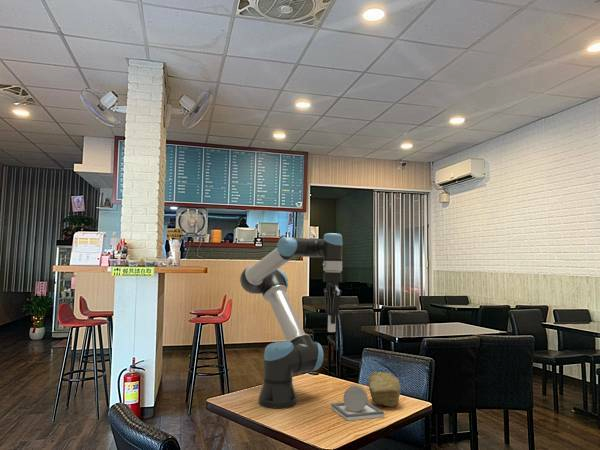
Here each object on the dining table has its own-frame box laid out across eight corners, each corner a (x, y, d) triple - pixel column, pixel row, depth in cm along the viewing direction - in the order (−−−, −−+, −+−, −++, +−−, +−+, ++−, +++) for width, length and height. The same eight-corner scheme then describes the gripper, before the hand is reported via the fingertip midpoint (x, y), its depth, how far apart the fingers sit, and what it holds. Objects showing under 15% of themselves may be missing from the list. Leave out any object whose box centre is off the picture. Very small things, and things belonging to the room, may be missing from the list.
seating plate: (331, 408, 173) (331, 403, 173) (365, 405, 178) (365, 400, 178) (347, 420, 159) (347, 415, 159) (384, 417, 163) (384, 412, 164)
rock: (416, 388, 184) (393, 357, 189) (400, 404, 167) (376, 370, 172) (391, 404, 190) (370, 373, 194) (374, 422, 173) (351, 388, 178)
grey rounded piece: (338, 394, 164) (344, 377, 173) (343, 416, 167) (348, 399, 176) (363, 395, 161) (368, 378, 170) (368, 418, 164) (372, 400, 173)
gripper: (318, 271, 182) (316, 329, 180) (330, 272, 170) (329, 334, 168) (334, 271, 185) (333, 329, 183) (348, 272, 172) (347, 334, 170)
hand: (331, 331), depth 175 cm, fingers closed
